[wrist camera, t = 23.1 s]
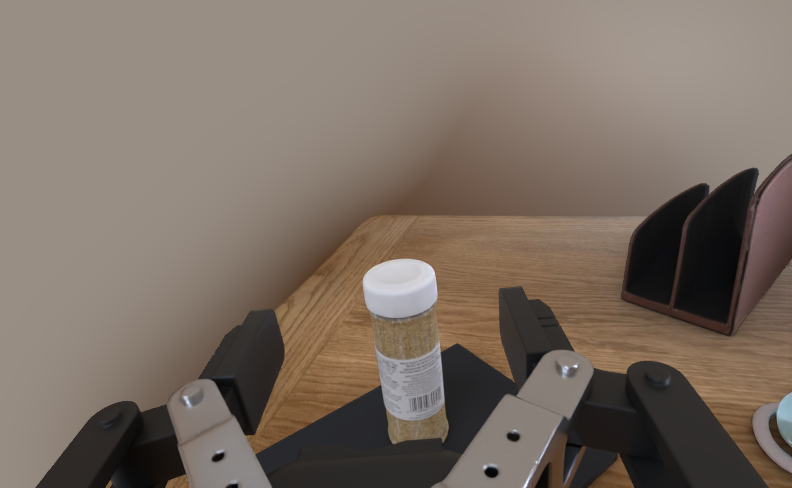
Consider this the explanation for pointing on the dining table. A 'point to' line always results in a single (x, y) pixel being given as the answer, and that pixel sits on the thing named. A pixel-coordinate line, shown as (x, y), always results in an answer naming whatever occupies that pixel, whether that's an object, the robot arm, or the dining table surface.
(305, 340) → the dining table surface
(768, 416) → the pacifier
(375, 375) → the dining table surface
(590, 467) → the placemat
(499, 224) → the dining table surface
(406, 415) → the sprinkles bottle
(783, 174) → the letter holder
